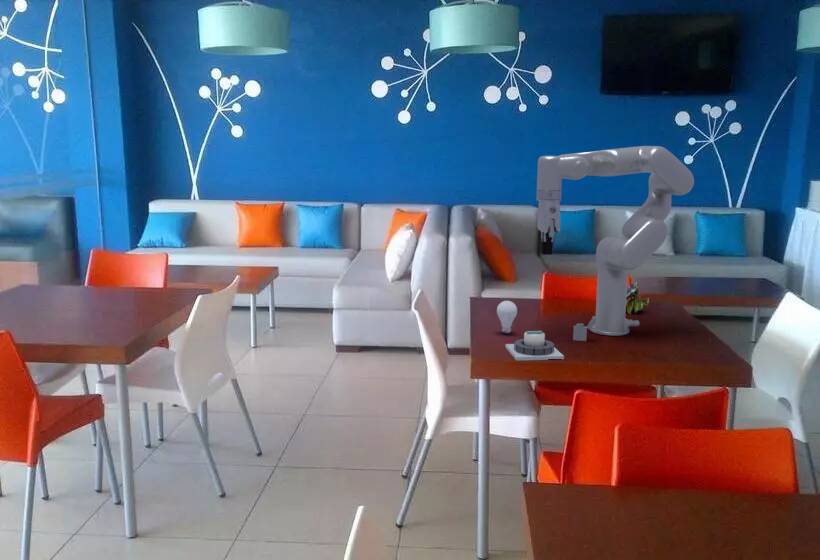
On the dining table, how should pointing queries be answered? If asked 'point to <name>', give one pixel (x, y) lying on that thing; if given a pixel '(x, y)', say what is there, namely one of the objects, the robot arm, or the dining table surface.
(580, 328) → the lighter
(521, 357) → the segmented ring plate
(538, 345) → the knob
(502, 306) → the light bulb
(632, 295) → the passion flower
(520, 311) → the dining table surface
